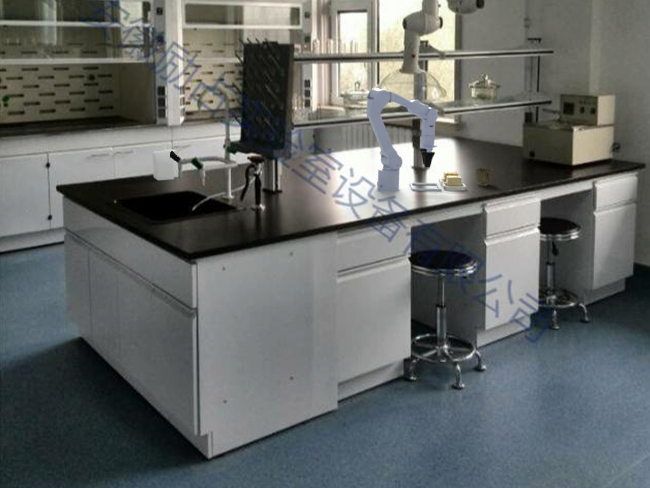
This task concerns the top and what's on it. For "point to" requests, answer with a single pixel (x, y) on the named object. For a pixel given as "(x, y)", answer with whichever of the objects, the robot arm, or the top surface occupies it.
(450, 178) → the billet
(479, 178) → the cup
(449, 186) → the grey rectangular tray
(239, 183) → the top surface
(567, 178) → the top surface
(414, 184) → the tote
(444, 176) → the billet
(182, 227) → the top surface
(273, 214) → the top surface
